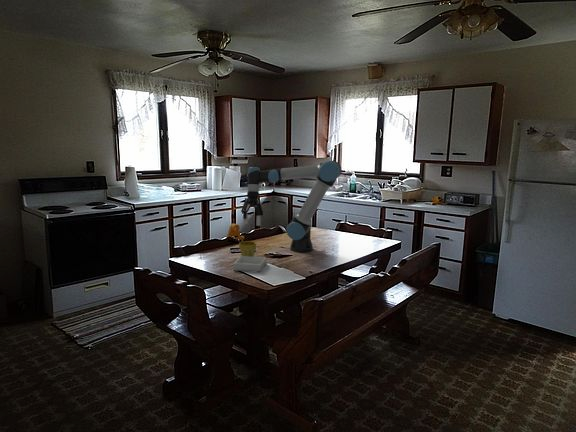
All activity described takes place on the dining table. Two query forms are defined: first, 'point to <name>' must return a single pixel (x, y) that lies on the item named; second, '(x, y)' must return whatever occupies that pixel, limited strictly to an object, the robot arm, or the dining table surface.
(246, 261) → the tray
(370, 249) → the dining table surface
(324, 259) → the dining table surface
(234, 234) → the orange irregular lump
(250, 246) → the plant pot
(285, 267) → the dining table surface
